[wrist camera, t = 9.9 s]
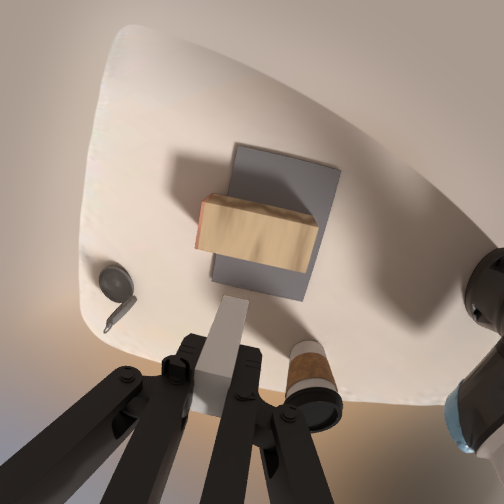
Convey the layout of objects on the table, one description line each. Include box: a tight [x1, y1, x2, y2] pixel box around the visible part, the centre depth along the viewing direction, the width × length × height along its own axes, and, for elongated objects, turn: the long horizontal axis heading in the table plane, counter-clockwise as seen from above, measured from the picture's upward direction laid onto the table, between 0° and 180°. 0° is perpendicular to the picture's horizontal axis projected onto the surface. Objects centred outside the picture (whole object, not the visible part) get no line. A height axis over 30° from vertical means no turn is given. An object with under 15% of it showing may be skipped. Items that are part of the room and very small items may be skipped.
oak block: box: [195, 193, 319, 273], centre depth 39 cm, size 6×6×14 cm
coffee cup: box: [284, 340, 343, 433], centre depth 43 cm, size 8×8×15 cm
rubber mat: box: [212, 146, 341, 302], centre depth 43 cm, size 14×20×1 cm
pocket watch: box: [99, 266, 137, 333], centre depth 44 cm, size 8×8×10 cm
